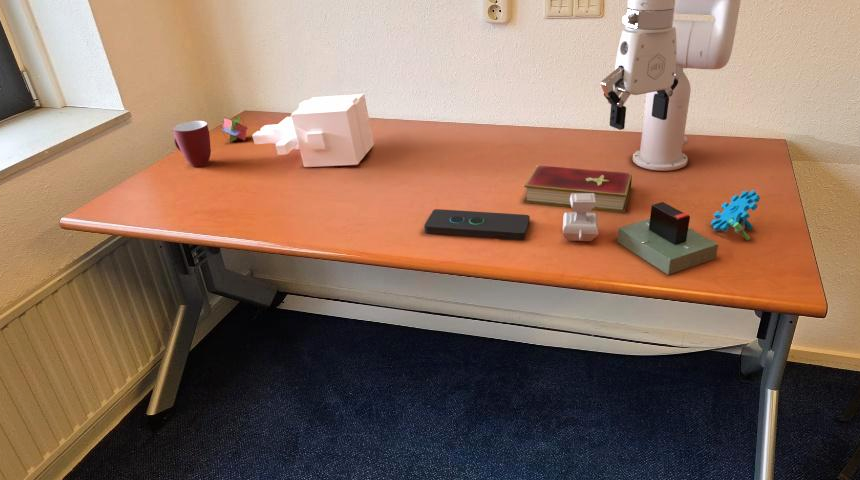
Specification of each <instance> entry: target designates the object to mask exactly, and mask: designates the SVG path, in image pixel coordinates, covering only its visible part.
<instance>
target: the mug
mask: <svg viewBox="0 0 860 480" xmlns="http://www.w3.org/2000/svg"><path fill="white" fill-rule="evenodd" d="M172 131H173V135H174V137H173V141H174V145H175V147H176V149H177V150H178V151H179V152H181V154H182V155H183V157H184V159H185V160H186V161H187V162H188V164H189V165H191V167H194V168H200V167H201V168H202V167H205V166H207V165H208V164H209V162H210V158H211V153H212V151H211V149H212V148H211V136H210V130H209V126H208V123H207V122H206V121H204V120H189V121H183V122H180V123H177V124H176V125H174V126H173V127H172Z"/></svg>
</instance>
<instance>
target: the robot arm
mask: <svg viewBox="0 0 860 480" xmlns="http://www.w3.org/2000/svg"><path fill="white" fill-rule="evenodd" d="M626 2H627V3H626V11H625V12H626V15H623V16H622V23H623V24H624V28H623V29H622V31H621V34H620V39H619V42H618V46H617V51H616V57H615V64H614V70H613V71H612V72H611V73H610V74H608V75H607V76H606V77H605V78H603V79H602V80H601V82H600V86H601V88H602V89H601V90H602V92H603V96H604V97H605V99H606V100H607V103H608V104H609V105H610V113H609V126H610V127H612V128H613V129H617V130H620V131H621V130H624V129H625V126H626V116H627V106H625V104H626V102H627V100H628V99H629V97H630V96H631V95H632V96H638V95H644V94H645V101H644V111H643V118H642V130H641V139H640V148H639V149H638V150H636V151H635V152H634V153H633V154H632V161H633V163H634V164H635V165H636V166H638V167H640V168H642V169H647V170H651V171H658V172H659V171H660V172H669V171H676V170H679V169H683V168H684V167H686V166H687V164H688V161H689V158H688V156H687V154H685V153H684V152H683V146H685V145H687V144H688V142H689V138H688V137H687V136H686V135H685V133H686V125H687V119H688V112H689V105H690V98H691V91H692V90H691V83H690V81H689V79H688V77H687V75H686V73H685V72H684V69H697V70H722V69H723V68H724V67H726V66H727V65H728V63H729V61H730V59H731V56H732V51H733V47H734V43H735V37H736V31H737V30H736V29H737V24H738V20H739V13H740V7H741V2H742V0H627V1H626ZM675 14H677V15H678V14H679V15H696V16H698V15H700V16H711V17H713V18H714V21H703V20H684V19H683V20H682V19H674V16H675Z"/></svg>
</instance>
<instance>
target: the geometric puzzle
mask: <svg viewBox="0 0 860 480" xmlns="http://www.w3.org/2000/svg"><path fill="white" fill-rule="evenodd" d="M233 117H235V118H234V119H230V118H228V117H223V119H222V121H221V129H220V131H221V132H222V133H223V135H224V136H226V135H227V134H228V135H229V139H228V138H227V137H225V138H226V140H227V141H228V143H229V144H231V143H232V142H234V140H236V139H238V140H240V141H244V142H246V138H247V131H248V130H249V128H248V126H247V125H246V124H245V122H243V124H244V125H243V124H241V123H240V119H241V120H243V119H242V117H241V115H238V116H233ZM225 134H226V135H225ZM240 141H237V142H240Z"/></svg>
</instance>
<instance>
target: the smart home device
mask: <svg viewBox="0 0 860 480" xmlns="http://www.w3.org/2000/svg"><path fill="white" fill-rule="evenodd" d="M530 223H531V216H530V215H528V214H519V213H506V212H505V213H504V212H491V211H475V210H473V211H472V210H456V209H443V208H442V209H441V208H440V209H439V208H435V209H433V210H432V211H431V213H430V215H429V216H428V218H427V220H426V221H425V223H424V225H423V226H424V227H423V228H424V233H425V234H428V235H429V234H430V235H441V236H442V235H444V236H456V237H469V238H470V237H471V238H484V239H497V240H510V241H512V240H513V241H524V240H525V239H526V236H527V234H528V230H529V226H530Z"/></svg>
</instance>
